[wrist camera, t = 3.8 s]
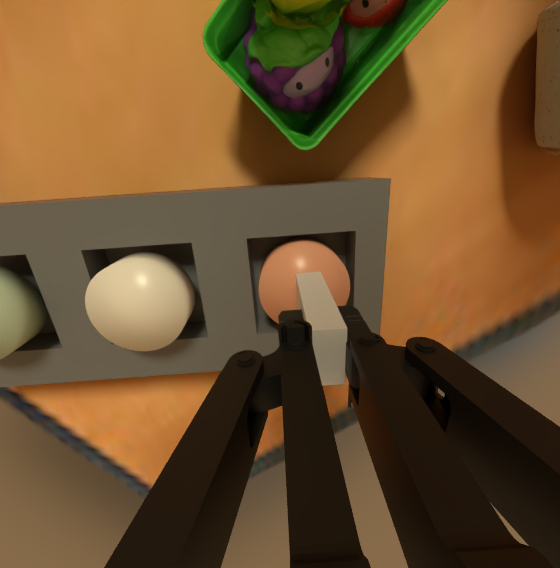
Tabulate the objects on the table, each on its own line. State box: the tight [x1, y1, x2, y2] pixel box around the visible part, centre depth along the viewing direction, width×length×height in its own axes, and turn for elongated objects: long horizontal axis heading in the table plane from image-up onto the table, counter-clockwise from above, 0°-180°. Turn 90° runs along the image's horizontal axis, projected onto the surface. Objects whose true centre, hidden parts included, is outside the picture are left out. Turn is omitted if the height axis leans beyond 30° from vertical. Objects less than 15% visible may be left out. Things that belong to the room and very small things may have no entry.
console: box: [0, 177, 391, 387], centre depth 21 cm, size 13×32×4 cm, turn 94°
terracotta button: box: [259, 237, 350, 324], centre depth 20 cm, size 6×6×2 cm
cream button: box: [85, 252, 195, 351], centre depth 19 cm, size 6×6×2 cm
